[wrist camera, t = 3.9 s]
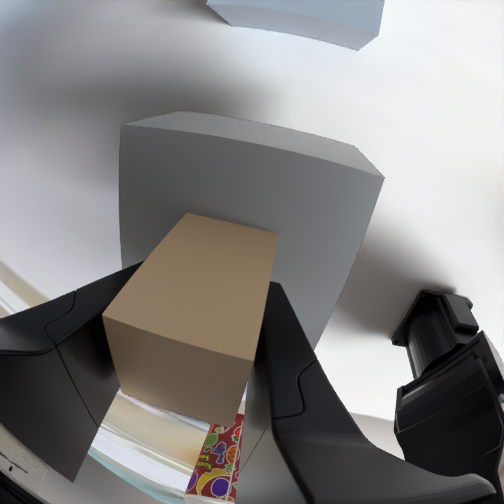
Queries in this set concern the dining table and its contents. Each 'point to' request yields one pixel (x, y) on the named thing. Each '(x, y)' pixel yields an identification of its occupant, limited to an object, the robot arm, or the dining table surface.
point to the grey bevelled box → (226, 249)
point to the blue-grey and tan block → (308, 18)
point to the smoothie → (217, 466)
